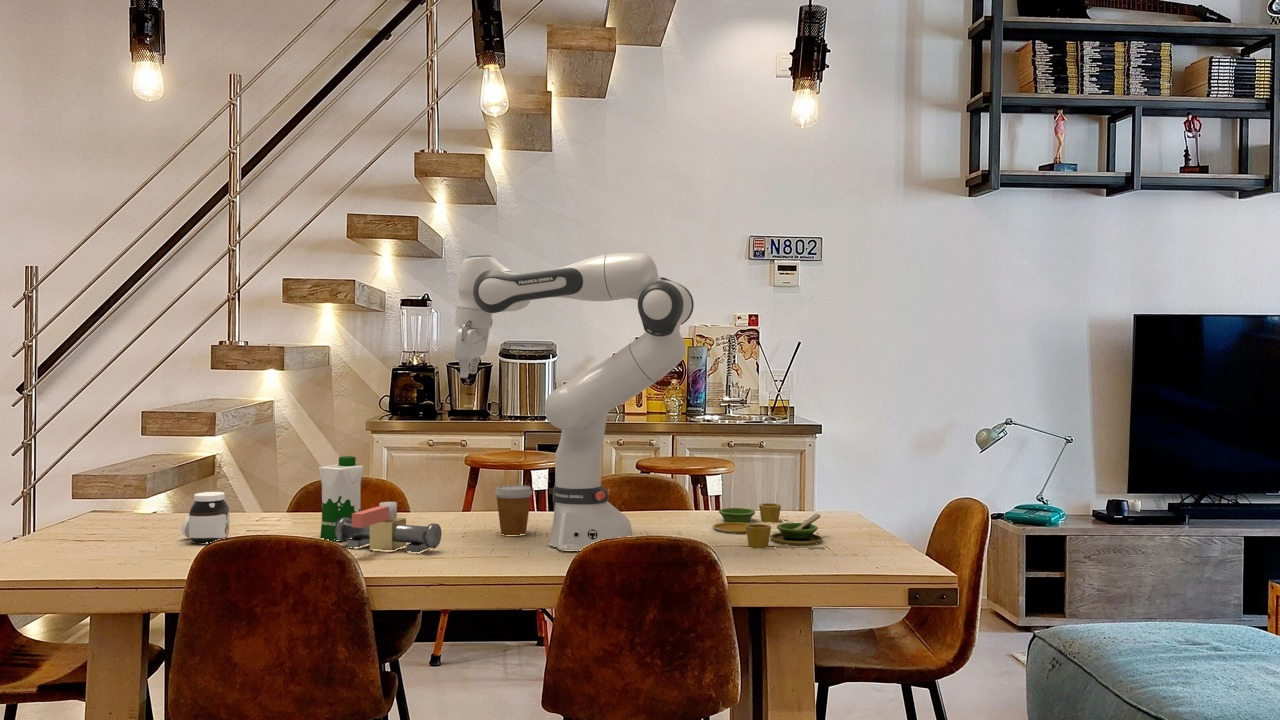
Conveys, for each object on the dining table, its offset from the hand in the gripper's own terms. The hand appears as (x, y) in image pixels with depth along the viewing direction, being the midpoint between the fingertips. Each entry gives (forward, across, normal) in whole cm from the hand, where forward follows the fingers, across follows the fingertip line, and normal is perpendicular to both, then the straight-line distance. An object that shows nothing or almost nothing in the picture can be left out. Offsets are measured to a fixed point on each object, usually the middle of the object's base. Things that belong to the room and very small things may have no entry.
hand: (468, 375), depth 237 cm
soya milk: (+44, -6, +27) cm, 51 cm away
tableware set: (+34, +9, -79) cm, 87 cm away
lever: (+33, -22, +14) cm, 42 cm away
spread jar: (+47, -10, +59) cm, 76 cm away
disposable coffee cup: (+40, +2, -15) cm, 42 cm away
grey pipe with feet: (+41, -17, +12) cm, 46 cm away
